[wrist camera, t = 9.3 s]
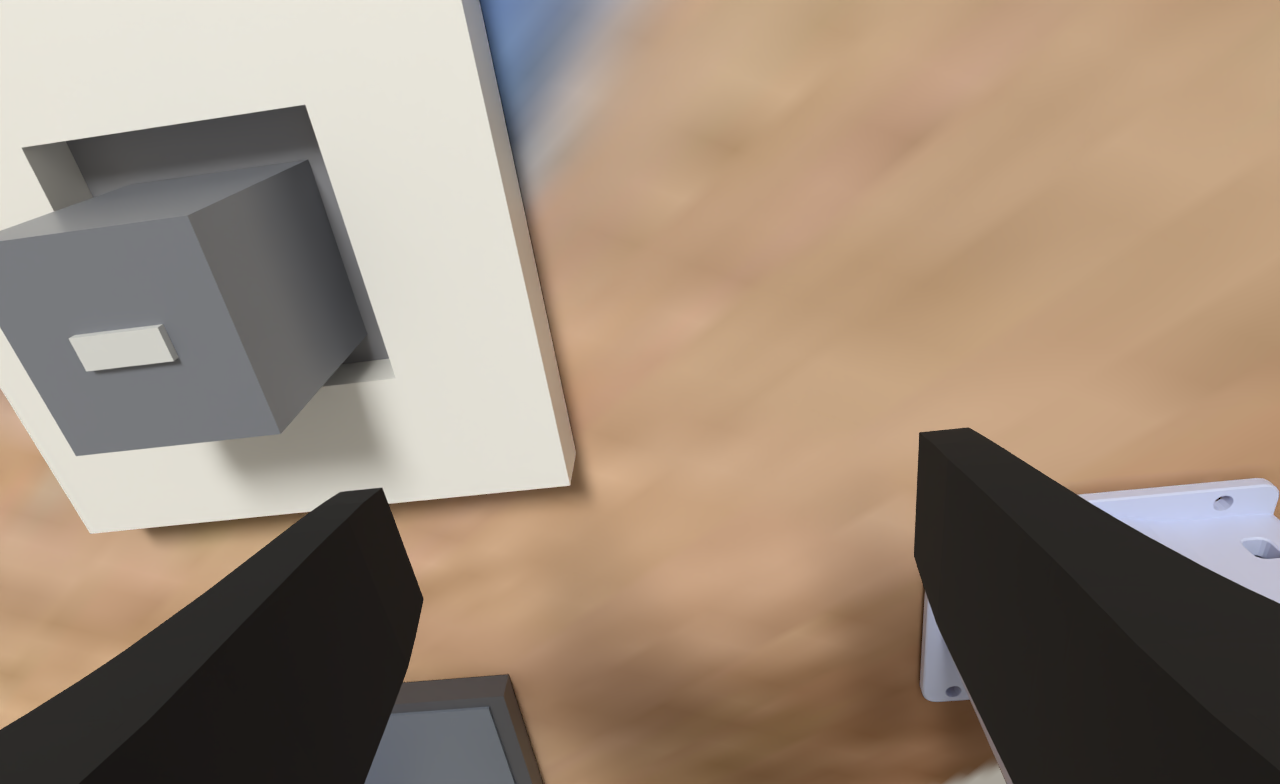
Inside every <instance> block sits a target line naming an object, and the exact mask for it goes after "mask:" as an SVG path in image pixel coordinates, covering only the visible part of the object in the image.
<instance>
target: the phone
mask: <svg viewBox="0 0 1280 784" xmlns="http://www.w3.org/2000/svg"><path fill="white" fill-rule="evenodd" d="M364 784H543V782H542V779H541V776H540V772H539V769H538V766H537V763H536V760H535V757H534V754H533V750H532V747H531V744H530V741H529V738H528V735H527V732H526V728H525V725H524V722H523V719H522V716H521V713H520V710H519V706H518V703H517V700H516V697H515V694H514V691H513V688H512V684H511V681H510V678H509V675H497V676H484V677H471V678H458V679H446V680H433V681H420V682H407V683H402V685H401V688H400V691H399V693H398V696H397V699H396V702H395V704H394V707H393V710H392V712H391V715H390V718H389V720H388V723H387V726H386V728H385V731H384V733H383V736H382V739H381V741H380V744H379V747H378V749H377V752H376V754H375V757H374V760H373V762H372V765H371V767H370V770H369V773H368V775H367V778H366V781H365V783H364Z"/></svg>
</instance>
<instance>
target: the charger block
mask: <svg viewBox="0 0 1280 784" xmlns="http://www.w3.org/2000/svg"><path fill="white" fill-rule="evenodd" d="M0 328H1V330H2V331H3V333H4V335H5V336H6V338H7V340H8V342H9V343H10V345H11V347H12V348H13V350H14V352H15V353H16V355H17V357H18V359H19V360H20V362H21V364H22V365H23V367H24V369H25V370H26V372H27V374H28V376H29V377H30V379H31V381H32V382H33V384H34V386H35V387H36V389H37V391H38V392H39V394H40V396H41V398H42V399H43V401H44V403H45V404H46V406H47V408H48V409H49V411H50V413H51V415H52V416H53V418H54V420H55V421H56V423H57V425H58V426H59V428H60V430H61V432H62V433H63V435H64V437H65V438H66V440H67V442H68V443H69V445H70V447H71V448H72V450H73V452H74V454H75V455H76V456H83V455H92V454H101V453H110V452H120V451H129V450H138V449H147V448H157V447H166V446H175V445H184V444H194V443H203V442H212V441H221V440H231V439H240V438H249V437H258V436H268V435H277V434H281V433H282V432H283V431H284V430H285V429H286V428H287V426H288V425H289V424H290V423H291V422H292V421H293V420H294V418H295V417H296V416H297V415H298V414H299V413H300V411H301V410H302V409H303V408H304V407H305V406H306V405H307V403H308V402H309V401H310V400H311V399H312V398H313V396H314V395H315V394H316V393H317V392H318V391H319V390H320V388H321V387H322V386H323V385H324V384H325V383H326V382H327V380H328V379H329V378H330V377H331V376H332V375H333V373H334V372H335V371H336V370H337V369H338V368H339V367H340V365H341V364H342V363H343V362H344V361H345V360H346V358H347V357H348V356H349V355H350V354H351V353H352V352H353V350H354V349H355V348H356V347H357V346H358V345H359V343H360V342H361V341H362V340H363V339H364V338H365V337H366V335H367V332H366V329H365V326H364V323H363V320H362V317H361V314H360V311H359V308H358V305H357V302H356V299H355V296H354V293H353V290H352V287H351V284H350V281H349V278H348V275H347V272H346V269H345V267H344V264H343V261H342V258H341V255H340V252H339V249H338V246H337V243H336V240H335V237H334V234H333V231H332V228H331V225H330V222H329V219H328V216H327V213H326V210H325V207H324V204H323V201H322V198H321V196H320V193H319V190H318V187H317V184H316V181H315V178H314V175H313V172H312V169H311V166H310V163H309V160H308V159H307V160H300V161H293V162H286V163H279V164H272V165H265V166H257V167H250V168H243V169H236V170H229V171H222V172H215V173H208V174H201V175H194V176H187V177H180V178H173V179H166V180H159V181H152V182H145V183H138V184H131V185H127V186H124V187H122V188H119V189H116V190H113V191H110V192H108V193H105V194H102V195H99V196H96V197H94V198H91V199H88V200H85V201H82V202H80V203H77V204H74V205H71V206H68V207H65V208H63V209H60V210H57V211H54V212H51V213H49V214H46V215H43V216H40V217H37V218H35V219H32V220H29V221H26V222H23V223H21V224H18V225H15V226H12V227H9V228H7V229H4V230H1V231H0Z"/></svg>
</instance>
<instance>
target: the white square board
mask: <svg viewBox="0 0 1280 784" xmlns="http://www.w3.org/2000/svg"><path fill="white" fill-rule="evenodd" d="M307 159H308V160H309V163H310V166H311V169H312V172H313V175H314V178H315V181H316V184H317V187H318V190H319V193H320V196H321V198H322V201H323V204H324V207H325V210H326V213H327V216H328V219H329V222H330V225H331V228H332V231H333V234H334V237H335V240H336V243H337V246H338V249H339V252H340V255H341V258H342V261H343V264H344V267H345V269H346V272H347V275H348V278H349V281H350V284H351V287H352V290H353V293H354V296H355V299H356V302H357V305H358V308H359V311H360V314H361V317H362V320H363V323H364V326H365V329H366V332H367V335H366V337H365V338H364V339H363V340H362V341H361V342H360V343H359V345H358V346H357V347H356V348H355V349H354V350H353V352H352V353H351V354H350V355H349V356H348V357H347V358H346V360H345V361H344V362H343V363H342V364H341V365H340V367H339V368H338V369H337V370H336V371H335V372H334V373H333V375H332V376H331V377H330V378H329V379H328V380H327V382H326V383H325V384H324V385H323V386H322V387H321V388H320V390H319V391H318V392H317V393H316V394H315V395H314V396H313V398H312V399H311V400H310V401H309V402H308V403H307V405H306V406H305V407H304V408H303V409H302V410H301V411H300V413H299V414H298V415H297V416H296V417H295V418H294V420H293V421H292V422H291V423H290V424H289V425H288V426H287V428H286V429H285V430H284V431H283V432H282V433H281V434H277V435H268V436H258V437H249V438H240V439H231V440H221V441H212V442H203V443H194V444H184V445H175V446H166V447H157V448H147V449H138V450H129V451H120V452H110V453H101V454H92V455H83V456H76V455H75V454H74V452H73V450H72V448H71V447H70V445H69V443H68V442H67V440H66V438H65V437H64V435H63V433H62V432H61V430H60V428H59V426H58V425H57V423H56V421H55V420H54V418H53V416H52V415H51V413H50V411H49V409H48V408H47V406H46V404H45V403H44V401H43V399H42V398H41V396H40V394H39V392H38V391H37V389H36V387H35V386H34V384H33V382H32V381H31V379H30V377H29V376H28V374H27V372H26V370H25V369H24V367H23V365H22V364H21V362H20V360H19V359H18V357H17V355H16V353H15V352H14V350H13V348H12V347H11V345H10V343H9V342H8V340H7V338H6V336H5V335H4V333H3V331H2V330H1V328H0V388H1V390H2V391H3V393H4V395H5V396H6V398H7V399H8V401H9V403H10V404H11V406H12V407H13V409H14V411H15V412H16V414H17V416H18V417H19V419H20V420H21V422H22V424H23V425H24V427H25V429H26V430H27V432H28V433H29V435H30V437H31V438H32V440H33V441H34V443H35V445H36V446H37V448H38V450H39V451H40V453H41V454H42V456H43V458H44V459H45V461H46V463H47V464H48V466H49V467H50V469H51V471H52V472H53V474H54V475H55V477H56V479H57V480H58V482H59V484H60V485H61V487H62V488H63V490H64V492H65V493H66V495H67V497H68V498H69V500H70V501H71V503H72V505H73V506H74V508H75V509H76V511H77V513H78V514H79V516H80V518H81V519H82V521H83V522H84V524H85V526H86V527H87V529H88V531H89V532H90V534H92V533H102V532H112V531H122V530H132V529H142V528H152V527H162V526H172V525H182V524H192V523H202V522H212V521H222V520H232V519H242V518H252V517H262V516H272V515H282V514H292V513H302V512H311V511H312V510H314V509H315V508H316V507H318V506H319V505H321V504H322V503H324V502H325V501H327V500H328V499H330V498H331V497H333V496H334V495H336V494H338V493H339V492H343V491H353V490H363V489H372V488H383V491H384V493H385V496H386V499H387V501H388V504H391V503H401V502H411V501H421V500H431V499H441V498H451V497H461V496H471V495H481V494H491V493H501V492H511V491H521V490H531V489H541V488H551V487H561V486H570V484H571V478H572V473H573V468H574V462H575V457H576V450H575V445H574V441H573V436H572V431H571V427H570V422H569V417H568V413H567V408H566V403H565V399H564V394H563V389H562V384H561V380H560V375H559V370H558V366H557V361H556V356H555V352H554V347H553V342H552V338H551V333H550V328H549V324H548V319H547V314H546V310H545V305H544V300H543V296H542V291H541V286H540V282H539V277H538V272H537V268H536V263H535V258H534V254H533V249H532V244H531V240H530V235H529V230H528V226H527V221H526V216H525V212H524V207H523V202H522V198H521V193H520V188H519V184H518V179H517V174H516V170H515V165H514V160H513V155H512V151H511V146H510V141H509V137H508V132H507V127H506V123H505V118H504V113H503V109H502V104H501V99H500V95H499V90H498V85H497V81H496V76H495V71H494V67H493V62H492V57H491V53H490V48H489V43H488V39H487V34H486V29H485V25H484V20H483V15H482V11H481V6H480V1H479V0H0V231H1V230H4V229H7V228H9V227H12V226H15V225H18V224H21V223H23V222H26V221H29V220H32V219H35V218H37V217H40V216H43V215H46V214H49V213H51V212H54V211H57V210H60V209H63V208H65V207H68V206H71V205H74V204H77V203H80V202H82V201H85V200H88V199H91V198H94V197H96V196H99V195H102V194H105V193H108V192H110V191H113V190H116V189H119V188H122V187H124V186H127V185H131V184H138V183H145V182H152V181H159V180H166V179H173V178H180V177H187V176H194V175H201V174H208V173H215V172H222V171H229V170H236V169H243V168H250V167H257V166H265V165H272V164H279V163H286V162H293V161H300V160H307Z"/></svg>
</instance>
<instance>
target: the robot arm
mask: <svg viewBox="0 0 1280 784" xmlns="http://www.w3.org/2000/svg"><path fill="white" fill-rule="evenodd" d="M1219 497H1222V498H1221V499H1219V500H1218V501H1215V500H1217V499H1218V498H1219ZM1278 498H1279V491H1278V489H1277V487H1276V486H1274V485H1273V484H1272V483H1271V482H1269V481H1268V480H1266V479H1264V478H1252V479H1241V480H1230V481H1220V482H1209V483H1198V484H1187V485H1177V486H1166V487H1155V488H1145V489H1134V490H1123V491H1112V492H1102V493H1091V494H1080V495H1077V494H1075V493H1073V492H1072V491H1070V490H1069V489H1067V488H1065V487H1064V486H1062V485H1061V484H1059V483H1057V482H1056V481H1054V480H1052V479H1051V478H1049V477H1048V476H1046V475H1045V474H1043V473H1041V472H1040V471H1038V470H1037V469H1035V468H1034V467H1032V466H1030V465H1029V464H1027V463H1026V462H1024V461H1022V460H1021V459H1019V458H1018V457H1016V456H1015V455H1013V454H1011V453H1010V452H1008V451H1007V450H1005V449H1004V448H1002V447H1000V446H999V445H997V444H996V443H994V442H992V441H991V440H989V439H987V438H986V437H984V436H982V435H981V434H979V433H977V432H976V431H974V430H972V429H970V428H959V429H949V430H939V431H930V432H920V433H919V454H918V476H917V499H916V522H915V544H914V557H915V561H916V564H917V567H918V570H919V573H920V576H921V579H922V583H923V586H924V589H925V598H924V616H923V635H922V653H921V671H920V688H921V691H922V694H923V696H924V697H925V698H926V699H927V700H929V701H932V702H943V701H957V700H970V701H971V703H972V706H973V708H974V710H975V713H976V715H977V717H978V719H979V722H980V724H981V726H982V729H983V731H984V733H985V735H986V738H987V740H988V742H989V745H990V747H991V749H992V752H993V754H994V756H995V758H996V761H997V763H998V765H999V768H1000V770H1001V772H1002V774H1003V777H1004V779H1005V781H1006V784H1280V520H1279V519H1278V518H1276V517H1275V516H1274V515H1273V513H1274V510H1275V507H1276V504H1277V501H1278ZM422 604H423V596H422V593H421V591H420V588H419V585H418V583H417V580H416V577H415V575H414V572H413V569H412V566H411V564H410V561H409V558H408V556H407V553H406V550H405V547H404V545H403V542H402V539H401V537H400V534H399V531H398V529H397V526H396V523H395V520H394V518H393V515H392V512H391V510H390V507H389V504H388V501H387V499H386V496H385V493H384V491H383V488H372V489H363V490H353V491H343V492H339V493H338V494H336V495H334V496H333V497H331V498H330V499H328V500H327V501H325V502H324V503H322V504H321V505H319V506H318V507H316V508H315V509H314V510H312V511H311V512H310V513H308V514H307V515H306V516H304V517H303V518H301V519H300V520H299V521H297V522H296V523H295V524H294V525H292V526H291V527H290V528H288V529H287V530H286V531H284V532H283V533H282V534H280V535H279V536H278V537H277V538H275V539H274V540H273V541H271V542H270V543H269V544H268V545H266V546H265V547H264V548H262V549H261V550H260V551H258V552H257V553H256V554H255V555H253V556H252V557H251V558H249V559H248V560H247V561H246V562H244V563H243V564H242V565H240V566H239V567H238V568H236V569H235V570H234V571H233V572H231V573H230V574H229V575H227V576H226V577H225V578H223V579H222V580H221V581H220V582H218V583H217V584H216V585H214V586H213V587H212V588H210V589H209V590H208V591H206V592H205V593H204V594H202V595H201V596H200V597H198V598H197V599H195V600H194V601H193V602H191V603H190V604H189V605H187V606H186V607H184V608H183V609H182V610H180V611H179V612H178V613H176V614H175V615H173V616H172V617H171V618H169V619H168V620H166V621H165V622H164V623H162V624H161V625H160V626H158V627H157V628H155V629H154V630H153V631H151V632H150V633H148V634H147V635H146V636H144V637H143V638H142V639H140V640H139V641H137V642H136V643H135V644H133V645H132V646H130V647H129V648H128V649H126V650H125V651H123V652H122V653H120V654H119V655H117V656H116V657H115V658H113V659H112V660H110V661H109V662H107V663H106V664H104V665H103V666H101V667H100V668H98V669H97V670H95V671H94V672H92V673H91V674H89V675H88V676H86V677H85V678H83V679H82V680H80V681H78V682H77V683H75V684H74V685H72V686H71V687H69V688H67V689H66V690H64V691H63V692H61V693H59V694H58V695H56V696H55V697H53V698H51V699H50V700H48V701H47V702H45V703H43V704H42V705H40V706H39V707H37V708H36V709H34V710H32V711H31V712H29V713H28V714H26V715H24V716H23V717H21V718H19V719H18V720H16V721H14V722H13V723H11V724H9V725H8V726H6V727H4V728H3V729H1V730H0V784H364V783H365V781H366V778H367V775H368V773H369V770H370V767H371V765H372V762H373V760H374V757H375V754H376V752H377V749H378V747H379V744H380V741H381V739H382V736H383V733H384V731H385V728H386V726H387V723H388V720H389V718H390V715H391V712H392V710H393V707H394V704H395V702H396V699H397V696H398V693H399V691H400V688H401V685H402V683H403V680H404V677H405V674H406V671H407V669H408V665H409V661H410V657H411V653H412V649H413V645H414V641H415V637H416V632H417V628H418V623H419V618H420V613H421V609H422Z"/></svg>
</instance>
